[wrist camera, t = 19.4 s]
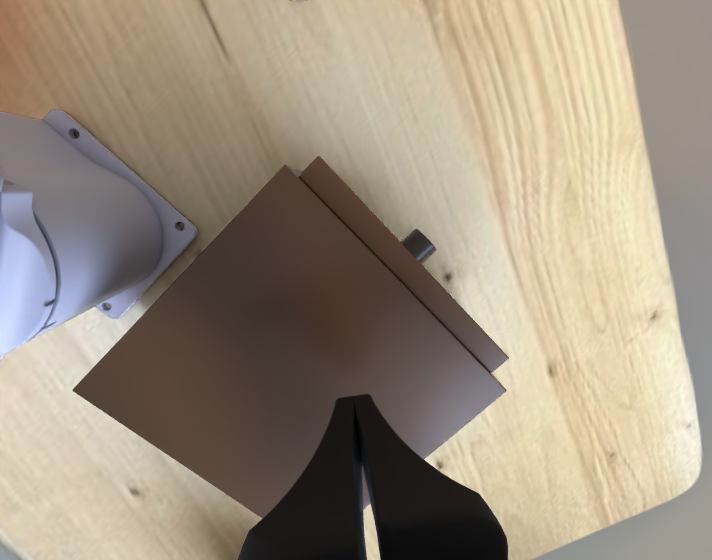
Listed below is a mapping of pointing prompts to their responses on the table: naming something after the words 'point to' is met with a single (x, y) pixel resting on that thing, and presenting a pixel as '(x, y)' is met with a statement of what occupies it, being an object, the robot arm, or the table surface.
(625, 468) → the table surface
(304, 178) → the drawer
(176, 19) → the table surface
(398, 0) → the table surface
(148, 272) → the robot arm
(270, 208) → the cabinet
